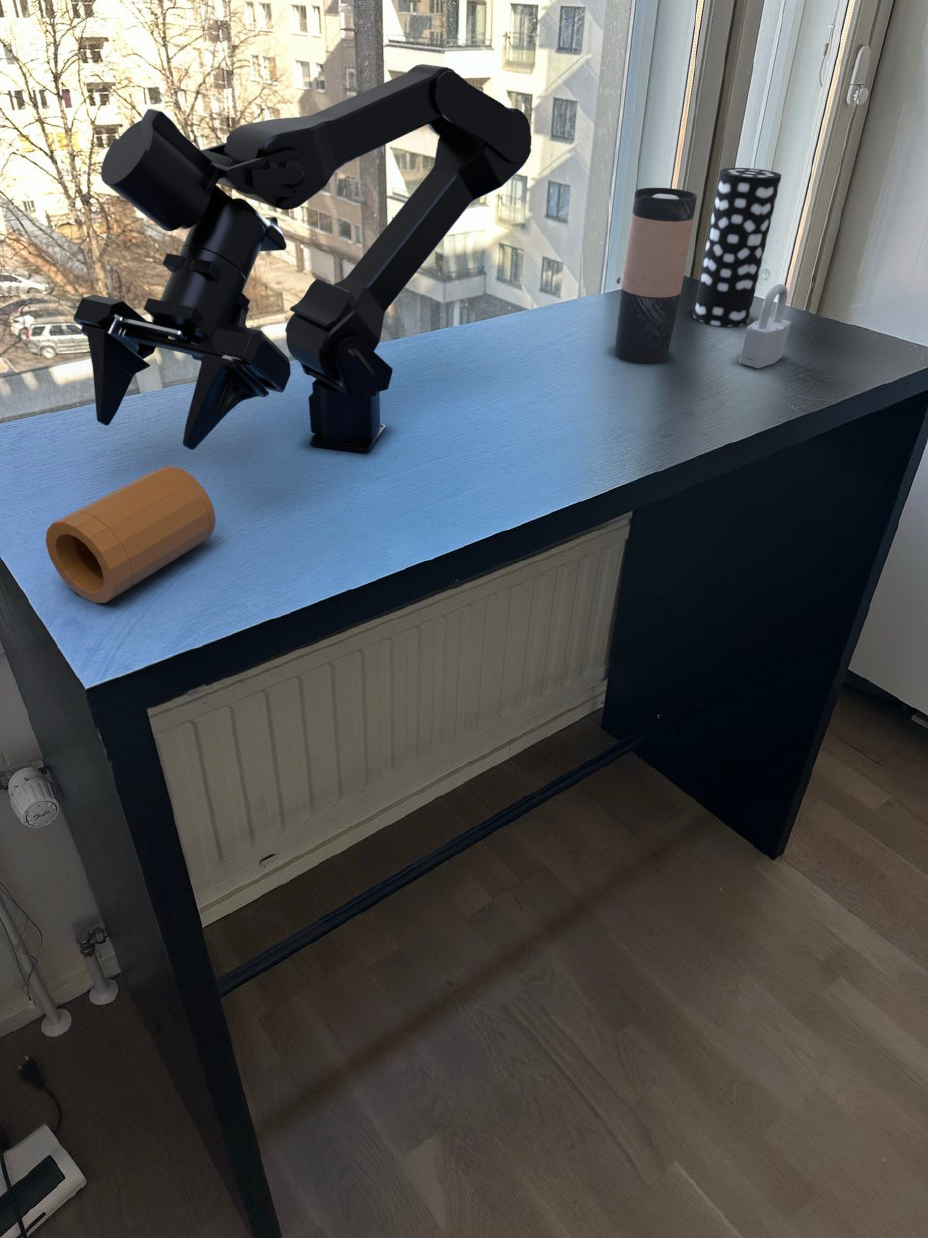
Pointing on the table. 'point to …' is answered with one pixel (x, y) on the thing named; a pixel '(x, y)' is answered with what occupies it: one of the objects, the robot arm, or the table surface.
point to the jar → (130, 533)
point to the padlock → (767, 332)
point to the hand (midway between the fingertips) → (144, 435)
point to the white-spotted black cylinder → (735, 245)
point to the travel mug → (653, 273)
